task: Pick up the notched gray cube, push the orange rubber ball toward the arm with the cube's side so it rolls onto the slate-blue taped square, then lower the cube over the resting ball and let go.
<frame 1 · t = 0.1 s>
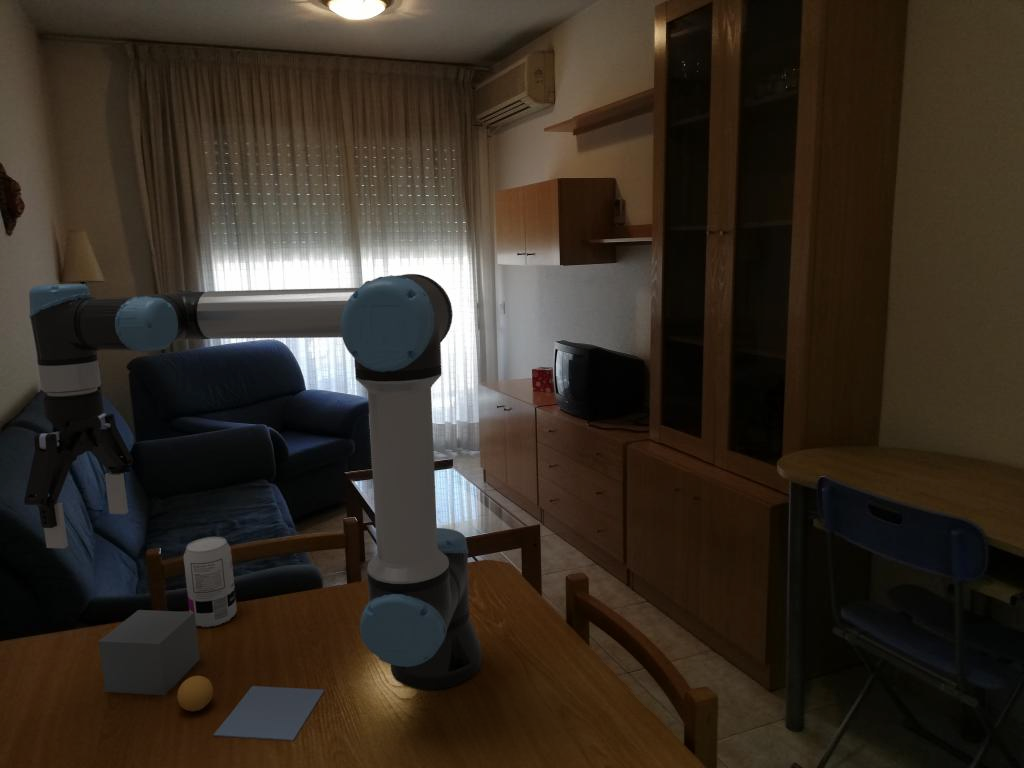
hand: (90, 529, 111), 28 cm above the table, tool pointing down, fingers open, 13 cm apart
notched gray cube: (154, 675, 121), on the table
supplement can: (214, 619, 140), on the table
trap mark: (271, 712, 111), on the table
ball: (195, 693, 112), on the table
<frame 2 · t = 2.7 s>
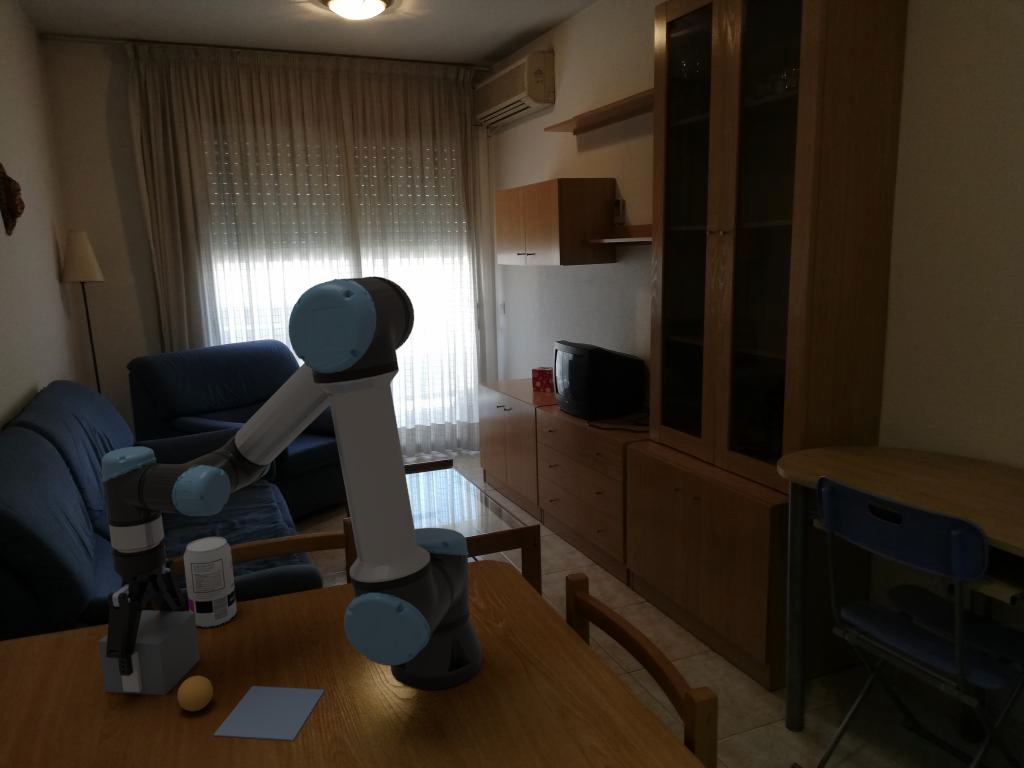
hand: (153, 670, 121), 1 cm above the table, tool pointing down, fingers closed on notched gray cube, 10 cm apart
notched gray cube: (154, 675, 121), on the table, touching gripper
everything else where it was.
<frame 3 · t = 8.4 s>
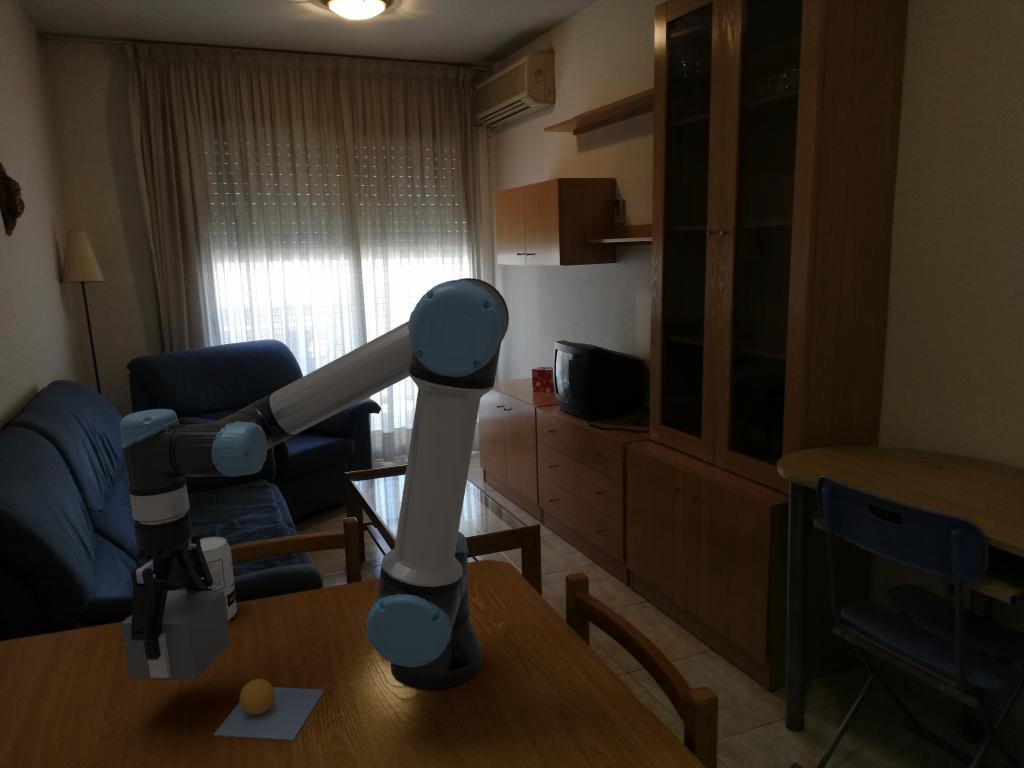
hand: (182, 655, 111), 9 cm above the table, tool pointing down, fingers closed on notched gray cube, 10 cm apart
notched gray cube: (182, 660, 111), point 8 cm above the table, touching gripper
ball: (257, 696, 110), on the table
everything else where it was.
when the fingers open (1 cm above the table, at t = 13.9 s): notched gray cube stays where it is, on the table.
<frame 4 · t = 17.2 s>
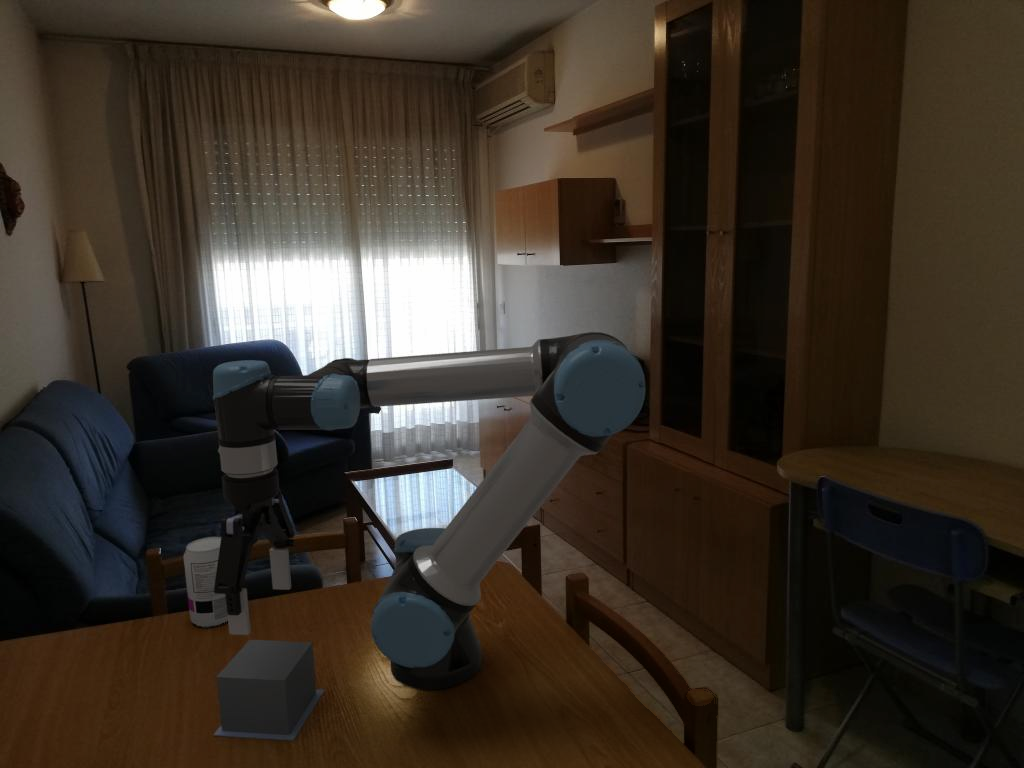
hand: (262, 609, 108), 17 cm above the table, tool pointing down, fingers open, 13 cm apart
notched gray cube: (271, 712, 111), on the table
everything else where it was.
at the end: ball 2.0 cm from the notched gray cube (horizontally); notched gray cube on the table; ball moved 9.9 cm from its start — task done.
